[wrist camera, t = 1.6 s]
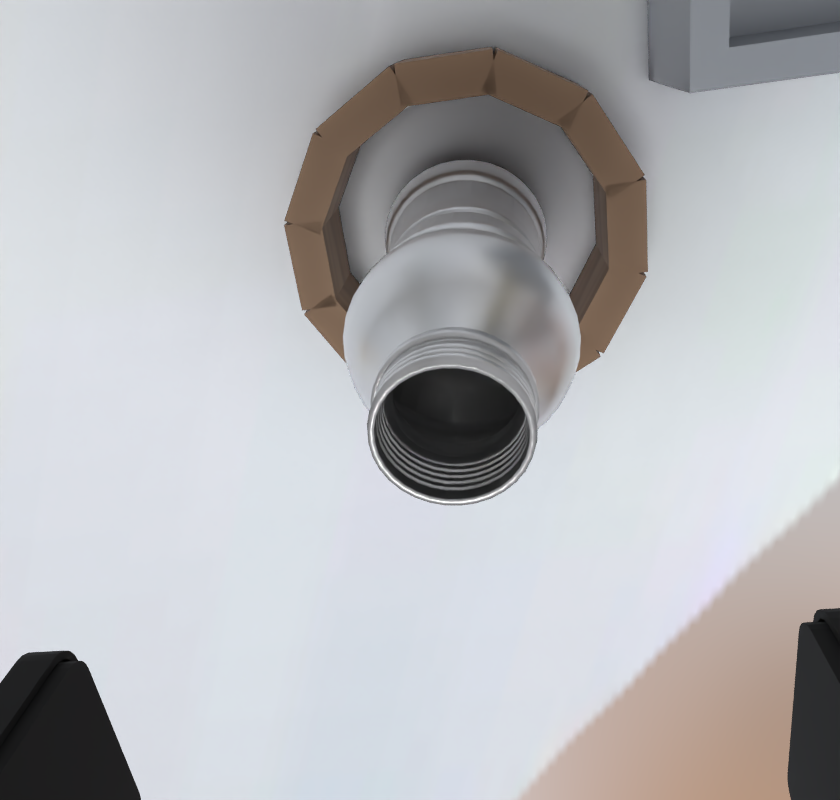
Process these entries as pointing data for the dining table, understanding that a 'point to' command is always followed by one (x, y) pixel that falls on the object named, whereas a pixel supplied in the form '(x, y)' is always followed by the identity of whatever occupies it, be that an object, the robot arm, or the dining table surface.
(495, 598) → the dining table surface
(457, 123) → the dining table surface
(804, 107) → the dining table surface
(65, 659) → the robot arm
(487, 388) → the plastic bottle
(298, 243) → the walnut collar
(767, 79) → the charcoal bin
